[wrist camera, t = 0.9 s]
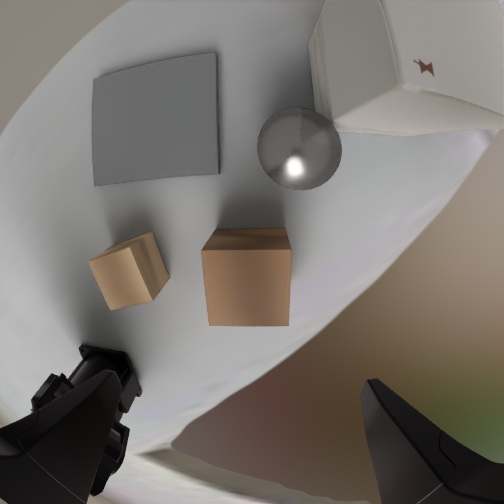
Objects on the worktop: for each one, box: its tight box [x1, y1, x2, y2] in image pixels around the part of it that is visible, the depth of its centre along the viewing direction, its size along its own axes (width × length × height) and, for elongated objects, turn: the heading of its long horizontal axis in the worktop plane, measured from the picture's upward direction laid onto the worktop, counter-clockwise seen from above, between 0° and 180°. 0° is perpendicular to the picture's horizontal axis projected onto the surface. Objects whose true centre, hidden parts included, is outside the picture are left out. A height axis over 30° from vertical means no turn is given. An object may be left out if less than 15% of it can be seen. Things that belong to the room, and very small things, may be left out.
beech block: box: [88, 232, 170, 310], centre depth 19 cm, size 4×4×4 cm
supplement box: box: [308, 0, 504, 137], centre depth 10 cm, size 7×7×13 cm
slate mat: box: [92, 52, 220, 186], centre depth 17 cm, size 10×9×1 cm
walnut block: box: [201, 228, 291, 326], centre depth 18 cm, size 5×5×5 cm
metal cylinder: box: [257, 108, 342, 190], centre depth 16 cm, size 4×4×5 cm
